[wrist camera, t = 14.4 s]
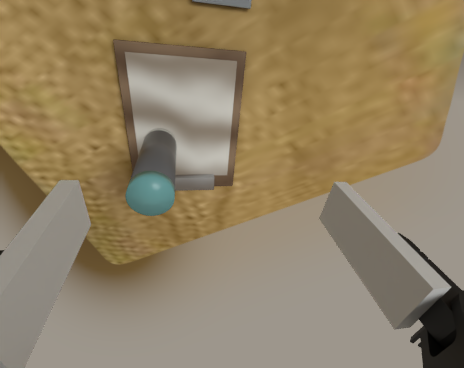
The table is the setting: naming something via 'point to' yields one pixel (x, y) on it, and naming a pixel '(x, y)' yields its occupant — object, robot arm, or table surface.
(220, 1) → the word card
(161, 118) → the clipboard
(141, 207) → the marker
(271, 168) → the table surface
